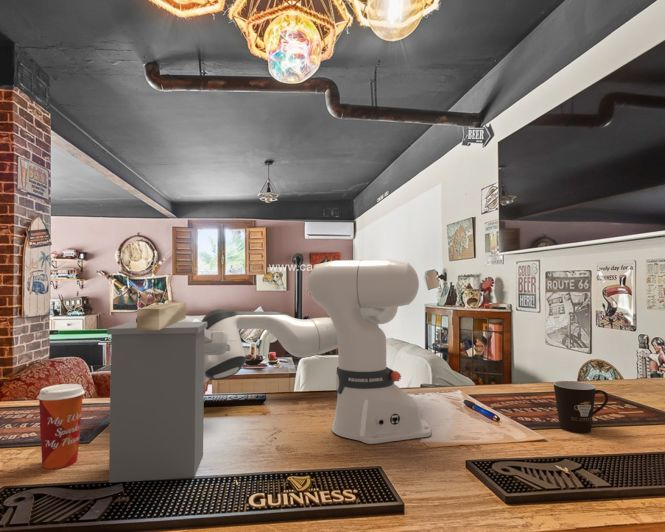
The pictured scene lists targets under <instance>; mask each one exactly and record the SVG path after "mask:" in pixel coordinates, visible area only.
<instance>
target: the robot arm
mask: <svg viewBox="0 0 665 532" xmlns="http://www.w3.org/2000/svg"><path fill="white" fill-rule="evenodd" d="M419 281H420V280H419V277H418V274H417V271H416V270H415V268H414V267H413V266H412V265H411V264H410V263H409V262H404V261H401V260H400V261H399V260H392V259H348V260H347V259H344V260H341V259H340V260H338V259H336V260H329V261H325V262H322V263H318V264H315V266H313V268H312V269H311V271H310V273H309V276H308V279H307V287H308V293H309V295H310V296H311V298H312V300H313V301H314V302H315V303H316V304H318V305H319V306H320V307H321V308H322V309H323V311H325V312H326V313H327V315H328V317H314V318H313V317H312V318H307V319H300V318H295V317H293V316H290V315H289V314H287V313H286V312H282V311H242V310H241V311H239V310H238V311H237V310H230V309H223V308H222V309H221V308H220V309H213V310H211V311H209V312H207V313H206V314H205V316H204V317H203V318H202V320H201V321H200V322H207V327H206V328H205V329H204V384H205V383H207V382H208V381H209V380H216V381H217V380H222V379H223V380H224V379H227V378H230V377H232V376H235V375H236V374H237V373H238V372H240V370H241V369H242V368H243V367H244V365H245V364H246V362H247V357H246V352H245V349H244V346H243V345H244V344H243V342H242V339H241V335H240V332H239V330H258V329H259V330H265V331H267V332H269V333H270V334H271V335H272V336H273V337H275V339H276V340H277V341H278V343H280V345H281V346H282V348H283V349H284V350H285V351H286V352H288V353H289V354H290V355H292V356H293V357H295V358H296V357H297V358H309V357H312V356H319V355H322V354H326V353H327V352H331V351H333V350H336V349H337V352H338V353H337V354H338V355H337V356H338V358H337V359H338V360H337V361H338V366H337V367H336V373H335V389H336V392H337V395H336V397H337V399H336V405H335V406H336V407H335V412H334V418H333V420H332V421H333V422H332V425H331V431H332V433H334V434H336V435H337V436H339V437H343V438H347V439H351V440H356V441H360V442H362V443H365V444H368V445H374V444H383V443H390V442H397V441H404V440H412V439H413V440H414V439H420V438H427V437H430V436H431V435H432V427H431V426H430V423H428V422H427V421H426V420H425V419H423V418H422V417H421V411H420V408H419V405H418V403H417V401H416V400H415V399H414V398H413V397H412V396H411V395H409V394H408V393H407V392H406V391H405V390H403V389H402V388H400V387H399V386H398V385H397V384H395V382H400V381H401V379H402V374H401V373H400V372H398V371H396V370H393V369H392V368H390V367H388V366H387V337H386V334H385V332H384V330H383V329H382V328H381V327H380V326H379V325H385V324H388V323H389V322H391V321H392V320H393V319H394V318H395V317H396V315H397V312H398V307H402V306H407V305H410V304H411V303H413V302H414V300H415V298H416V296H417V295H418V292H419V288H420V285H419V284H420V282H419Z"/></svg>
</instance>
